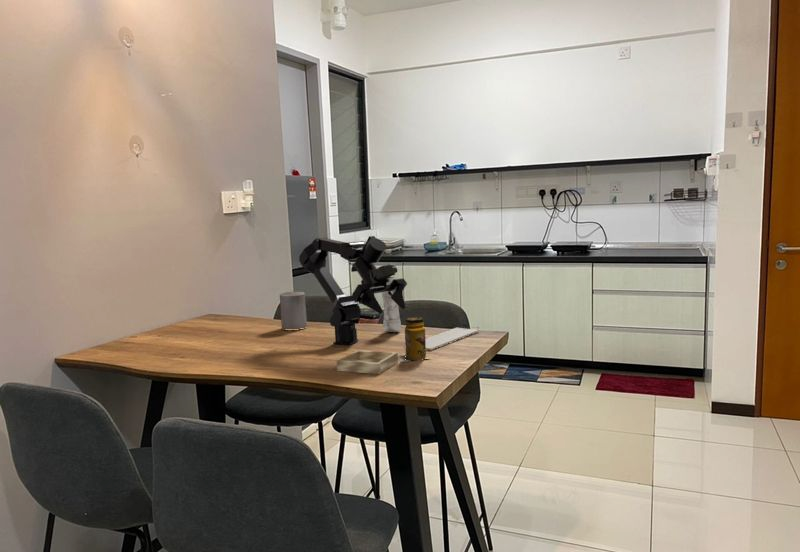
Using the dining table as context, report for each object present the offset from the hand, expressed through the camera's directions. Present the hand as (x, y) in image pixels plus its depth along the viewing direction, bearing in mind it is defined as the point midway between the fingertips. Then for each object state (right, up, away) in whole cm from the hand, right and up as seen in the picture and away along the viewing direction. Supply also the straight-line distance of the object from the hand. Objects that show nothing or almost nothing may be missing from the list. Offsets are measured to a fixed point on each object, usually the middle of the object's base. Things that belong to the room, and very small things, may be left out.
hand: (393, 310), depth 181 cm
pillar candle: (-39, -10, +49) cm, 63 cm away
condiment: (+6, -14, -4) cm, 16 cm away
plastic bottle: (-1, -10, +34) cm, 35 cm away
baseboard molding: (+16, -12, +19) cm, 28 cm away
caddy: (-7, -15, -12) cm, 21 cm away
